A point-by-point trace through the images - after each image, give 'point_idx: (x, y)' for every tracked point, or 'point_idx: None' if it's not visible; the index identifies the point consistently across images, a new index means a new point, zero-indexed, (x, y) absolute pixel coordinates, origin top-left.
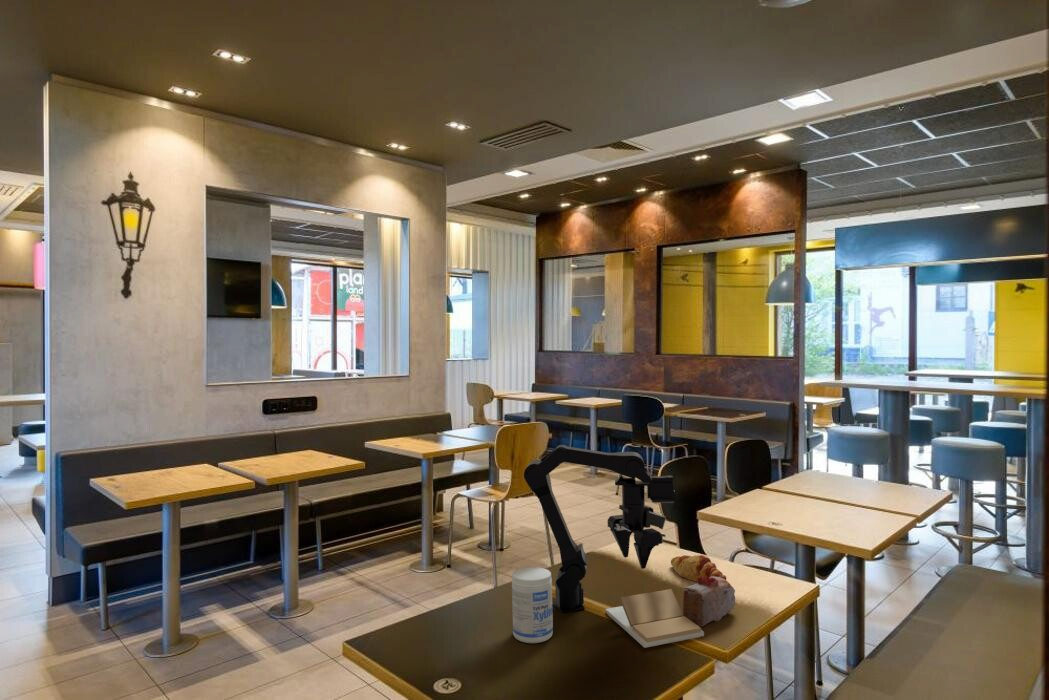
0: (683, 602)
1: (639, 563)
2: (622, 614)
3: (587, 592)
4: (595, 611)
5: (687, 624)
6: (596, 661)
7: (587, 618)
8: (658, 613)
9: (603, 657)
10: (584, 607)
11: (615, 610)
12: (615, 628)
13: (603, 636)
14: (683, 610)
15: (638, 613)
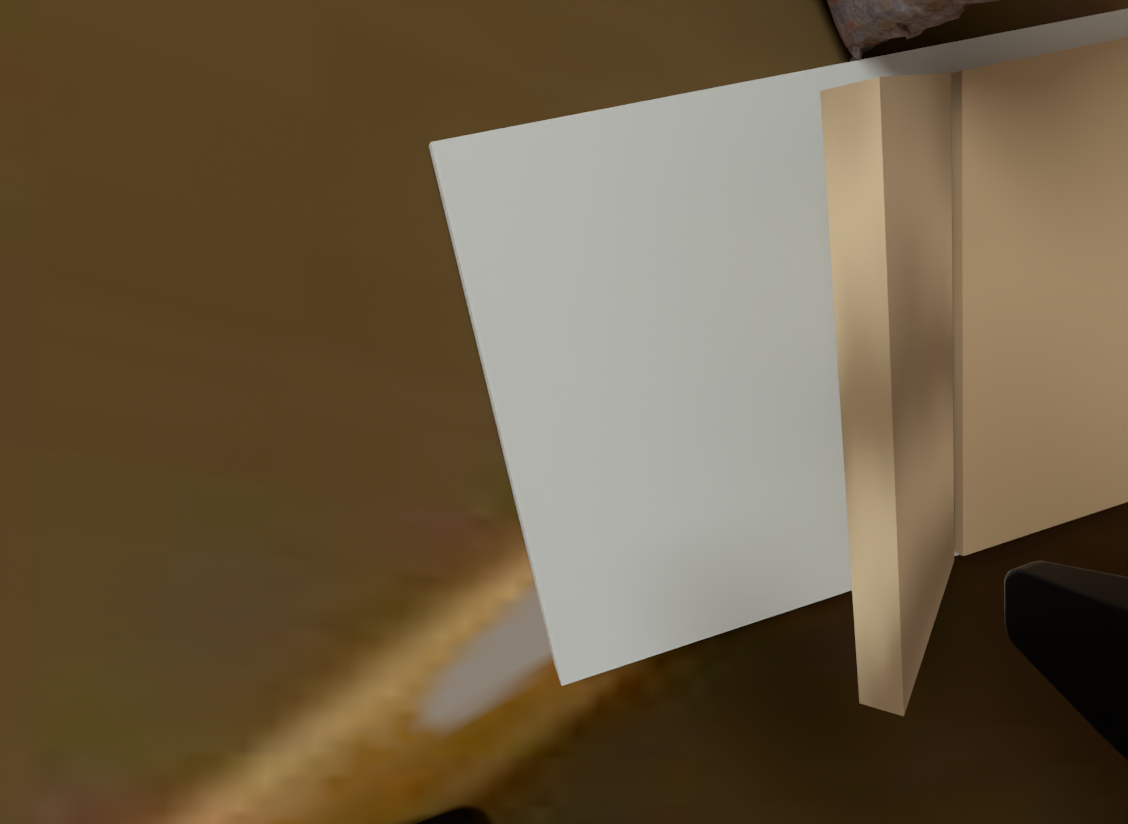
0: (961, 6)
1: (1104, 736)
2: (692, 574)
3: (62, 788)
4: (511, 733)
5: (1097, 119)
6: (1098, 744)
7: (619, 784)
8: (940, 333)
9: None
10: (466, 819)
11: (606, 616)
12: (808, 623)
13: None
14: (909, 37)
15: (939, 520)
